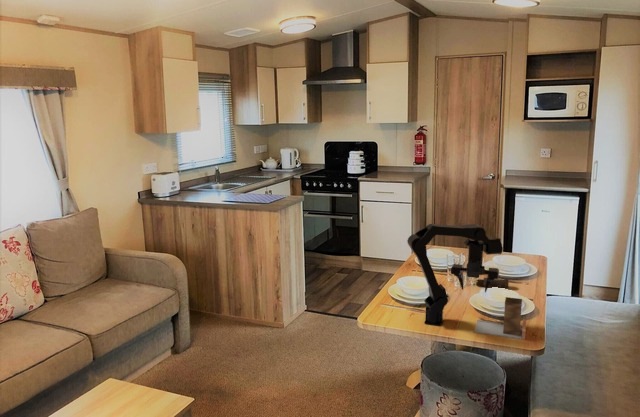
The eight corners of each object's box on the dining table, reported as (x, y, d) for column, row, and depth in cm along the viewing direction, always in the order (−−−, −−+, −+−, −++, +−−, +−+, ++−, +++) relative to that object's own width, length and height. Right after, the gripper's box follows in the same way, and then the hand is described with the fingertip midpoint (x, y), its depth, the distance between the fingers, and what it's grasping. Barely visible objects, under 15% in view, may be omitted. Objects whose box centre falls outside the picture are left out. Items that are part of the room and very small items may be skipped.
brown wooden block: (503, 333, 202) (504, 302, 199) (504, 327, 208) (505, 297, 205) (519, 335, 200) (521, 304, 197) (520, 329, 205) (522, 299, 203)
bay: (473, 333, 204) (474, 323, 203) (477, 321, 215) (477, 312, 214) (525, 340, 196) (525, 331, 196) (525, 328, 207) (526, 318, 206)
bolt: (476, 288, 256) (507, 290, 252) (476, 287, 251) (508, 288, 247) (476, 277, 258) (507, 278, 253) (476, 275, 253) (508, 276, 249)
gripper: (449, 258, 207) (448, 294, 210) (497, 263, 199) (495, 300, 203) (453, 250, 217) (452, 285, 220) (499, 255, 209) (498, 290, 213)
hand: (474, 290), depth 214 cm, fingers open, 9 cm apart
